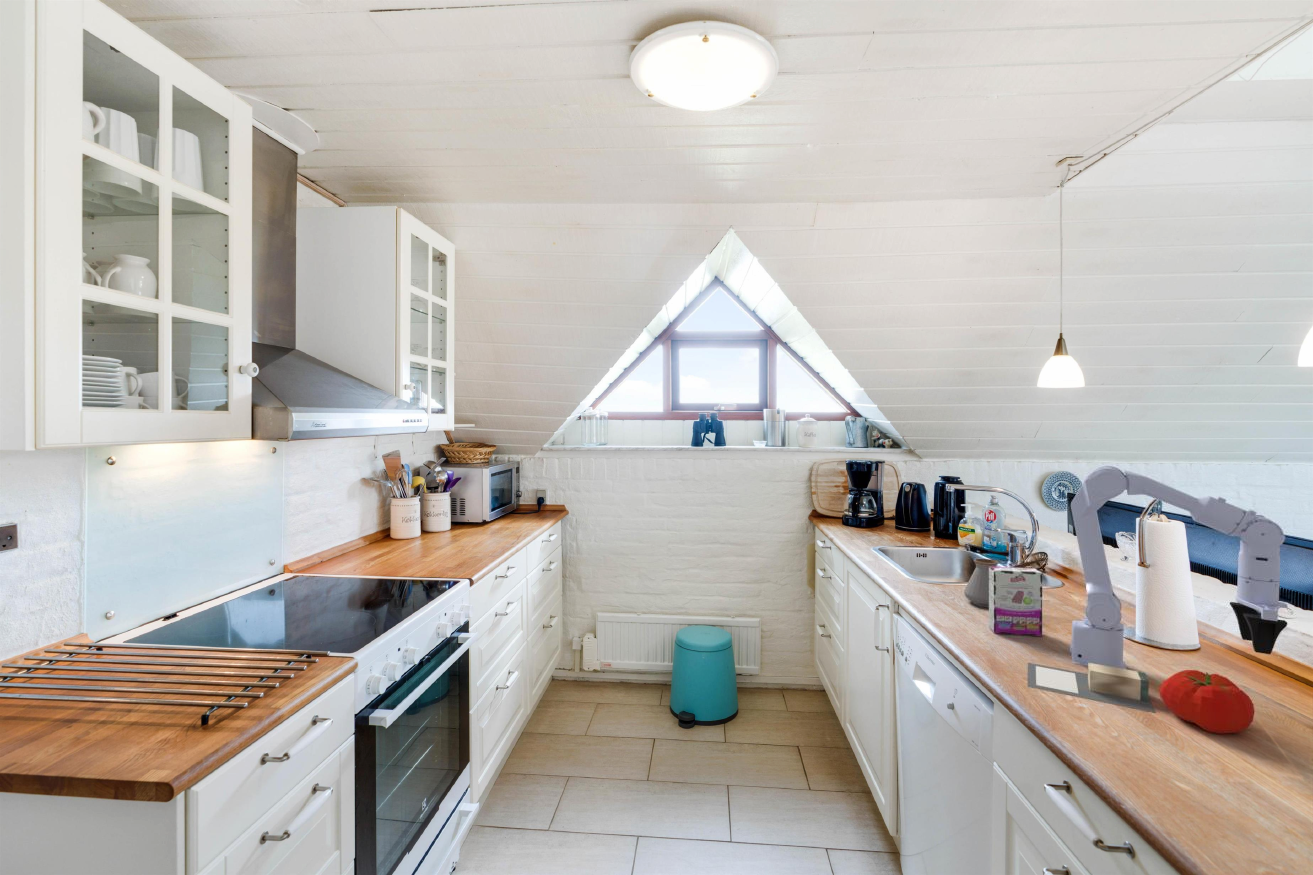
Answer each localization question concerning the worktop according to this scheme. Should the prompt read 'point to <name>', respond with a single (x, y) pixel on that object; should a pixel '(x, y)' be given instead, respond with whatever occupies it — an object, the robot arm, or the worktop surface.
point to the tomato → (1208, 701)
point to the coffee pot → (986, 580)
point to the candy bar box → (1015, 601)
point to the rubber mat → (1077, 686)
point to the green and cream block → (1118, 682)
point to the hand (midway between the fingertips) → (1255, 646)
